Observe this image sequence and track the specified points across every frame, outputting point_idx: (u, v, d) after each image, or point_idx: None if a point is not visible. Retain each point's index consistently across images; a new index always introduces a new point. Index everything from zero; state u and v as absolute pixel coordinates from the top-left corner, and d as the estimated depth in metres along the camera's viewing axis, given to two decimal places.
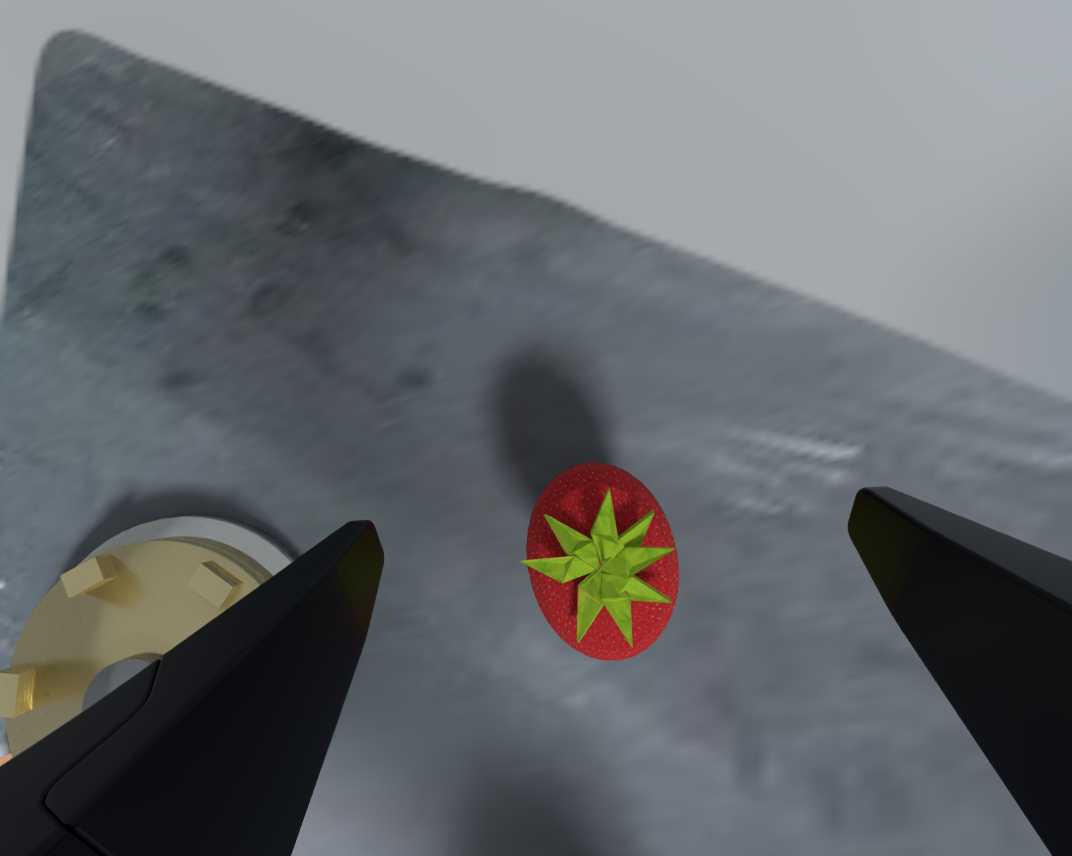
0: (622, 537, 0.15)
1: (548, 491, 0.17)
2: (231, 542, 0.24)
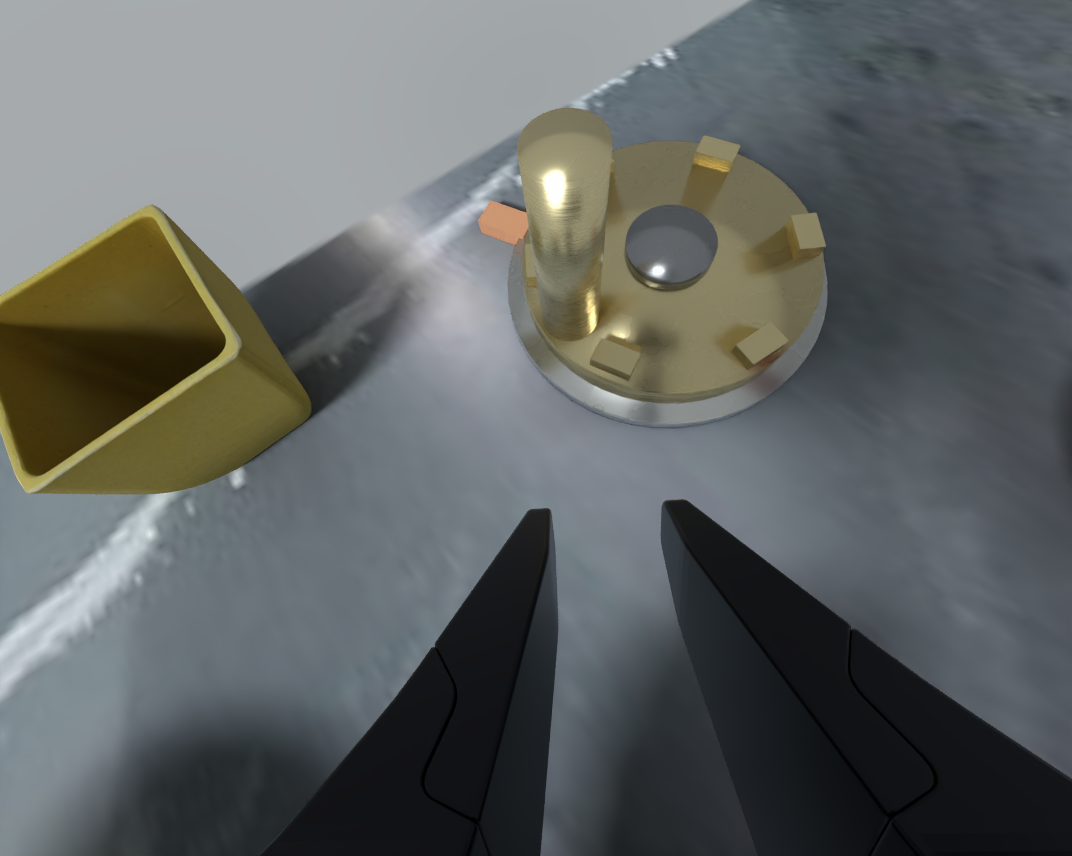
0: None
1: None
2: None
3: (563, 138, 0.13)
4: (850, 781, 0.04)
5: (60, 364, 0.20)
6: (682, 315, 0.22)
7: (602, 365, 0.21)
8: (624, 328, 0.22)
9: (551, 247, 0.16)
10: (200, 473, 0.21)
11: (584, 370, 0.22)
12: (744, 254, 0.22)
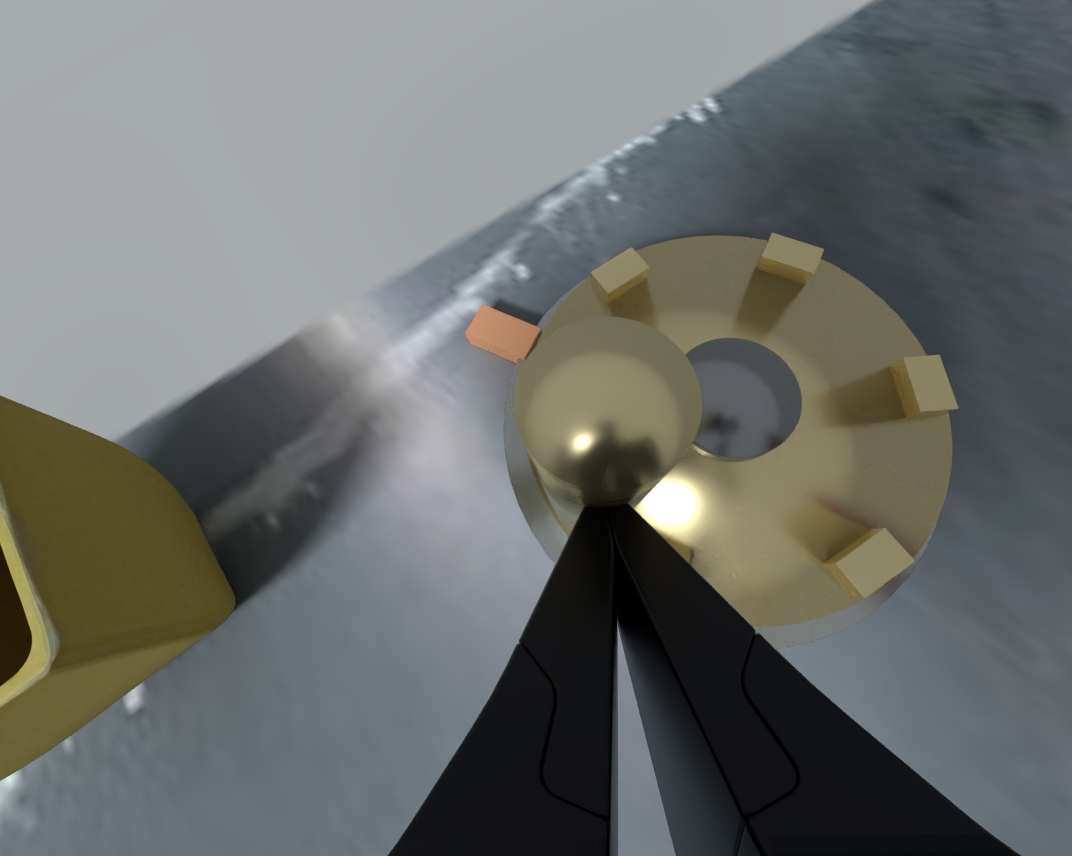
0: None
1: None
2: None
3: (602, 385, 0.07)
4: (721, 782, 0.04)
5: None
6: (750, 501, 0.15)
7: None
8: (668, 517, 0.15)
9: (572, 508, 0.09)
10: (53, 743, 0.14)
11: None
12: (834, 408, 0.16)
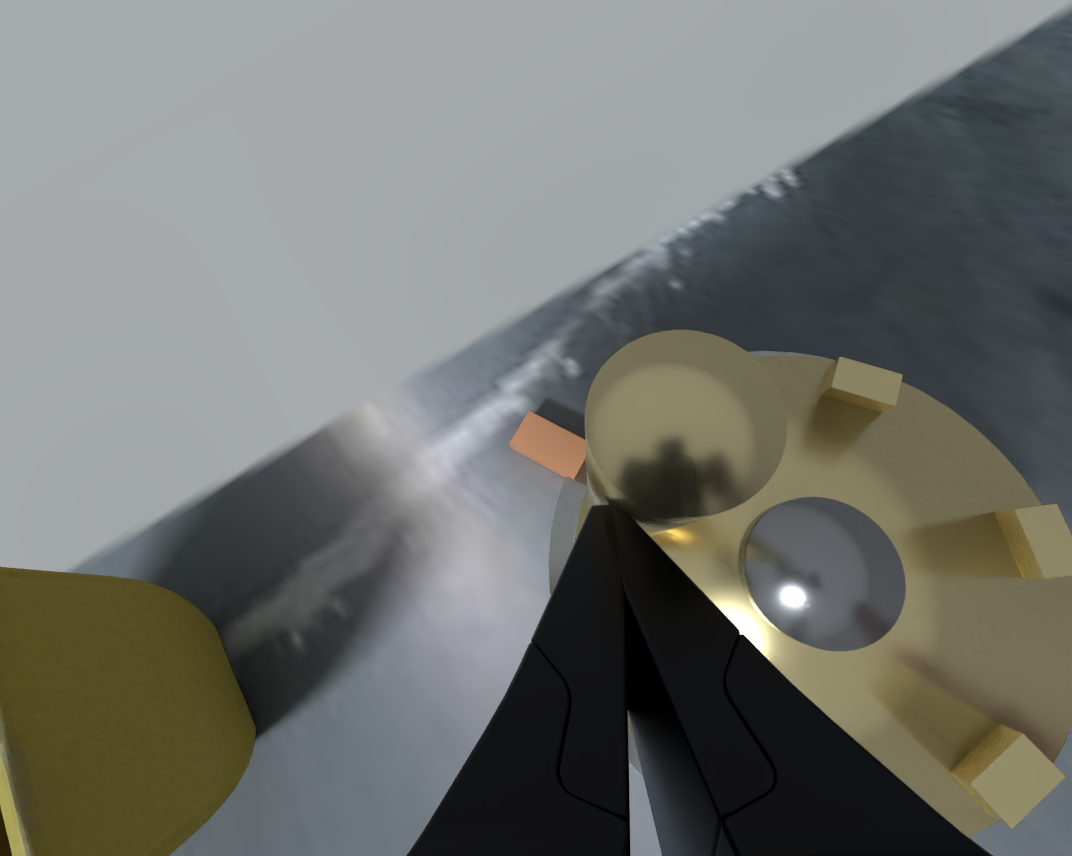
0: None
1: None
2: None
3: (693, 407, 0.06)
4: (701, 784, 0.04)
5: None
6: None
7: None
8: None
9: (588, 473, 0.09)
10: None
11: None
12: (896, 684, 0.13)
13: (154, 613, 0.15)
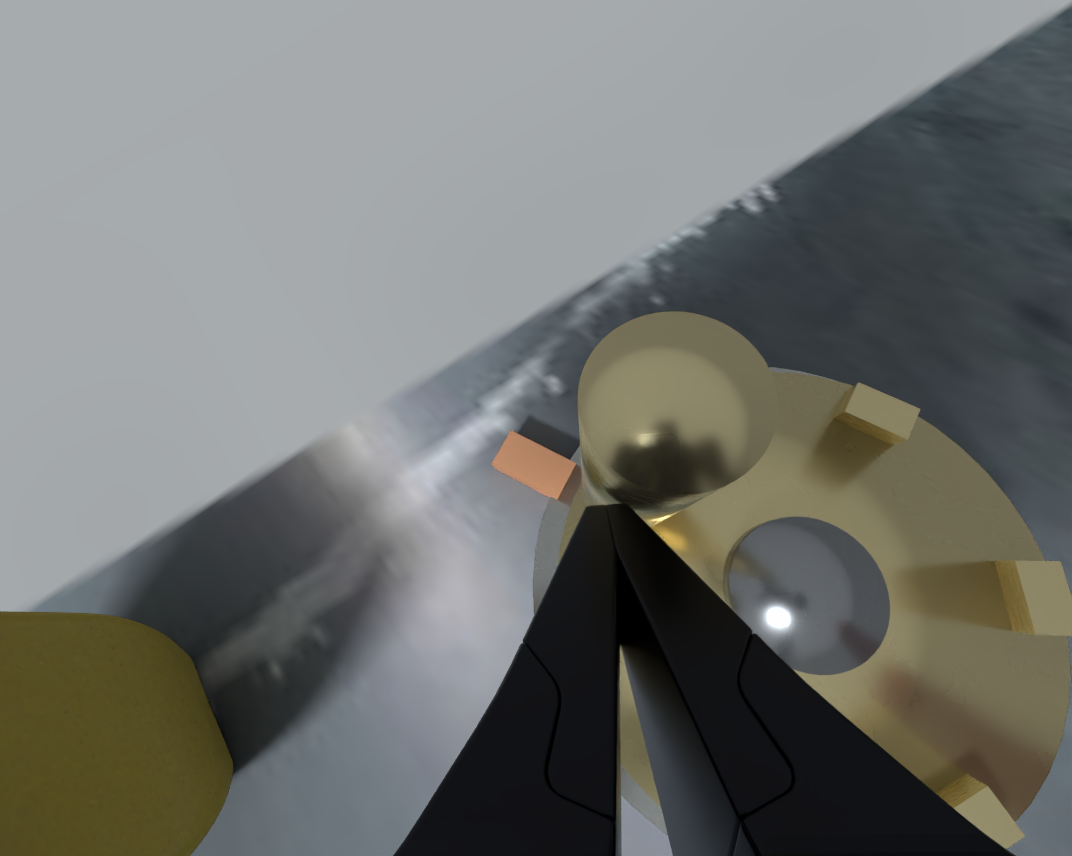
0: None
1: None
2: None
3: (686, 388, 0.06)
4: (717, 782, 0.04)
5: None
6: None
7: None
8: None
9: (580, 451, 0.09)
10: None
11: None
12: (865, 717, 0.13)
13: (124, 649, 0.14)
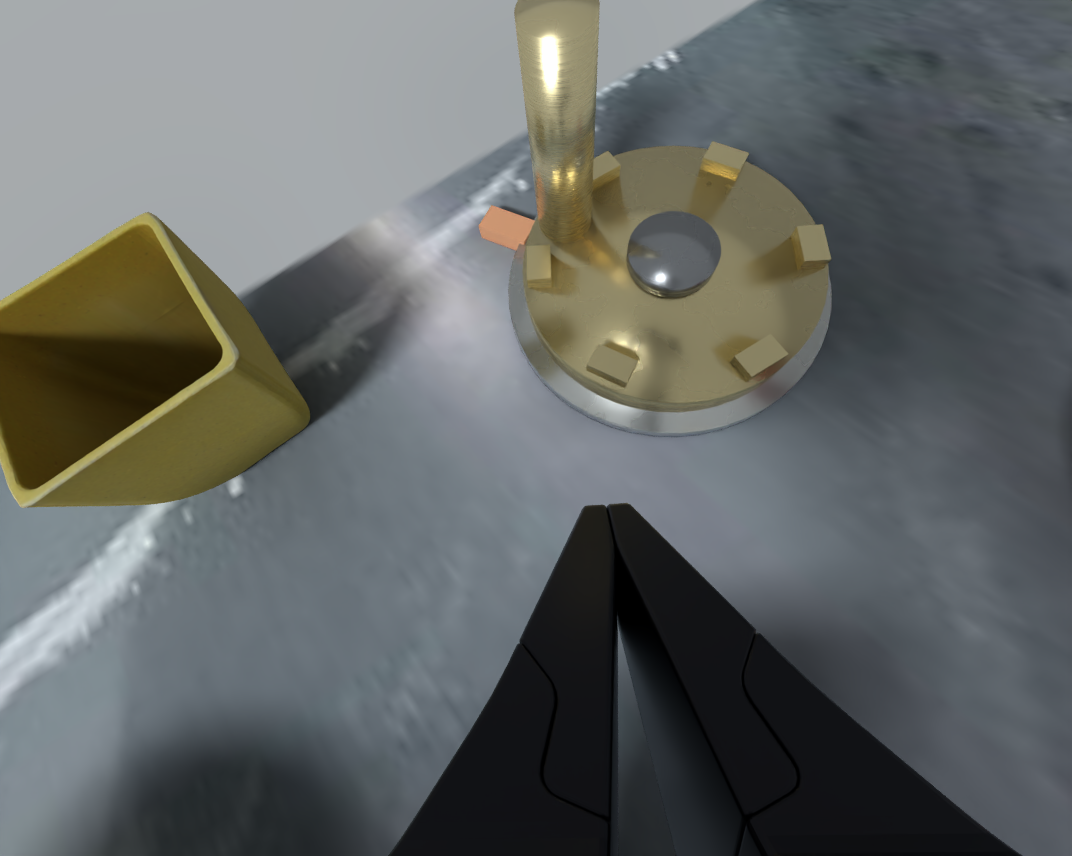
0: None
1: None
2: None
3: (561, 4, 0.15)
4: (721, 782, 0.04)
5: (55, 373, 0.20)
6: (613, 299, 0.22)
7: (526, 258, 0.23)
8: (575, 263, 0.23)
9: None
10: (197, 483, 0.20)
11: None
12: (708, 320, 0.21)
13: (244, 308, 0.22)
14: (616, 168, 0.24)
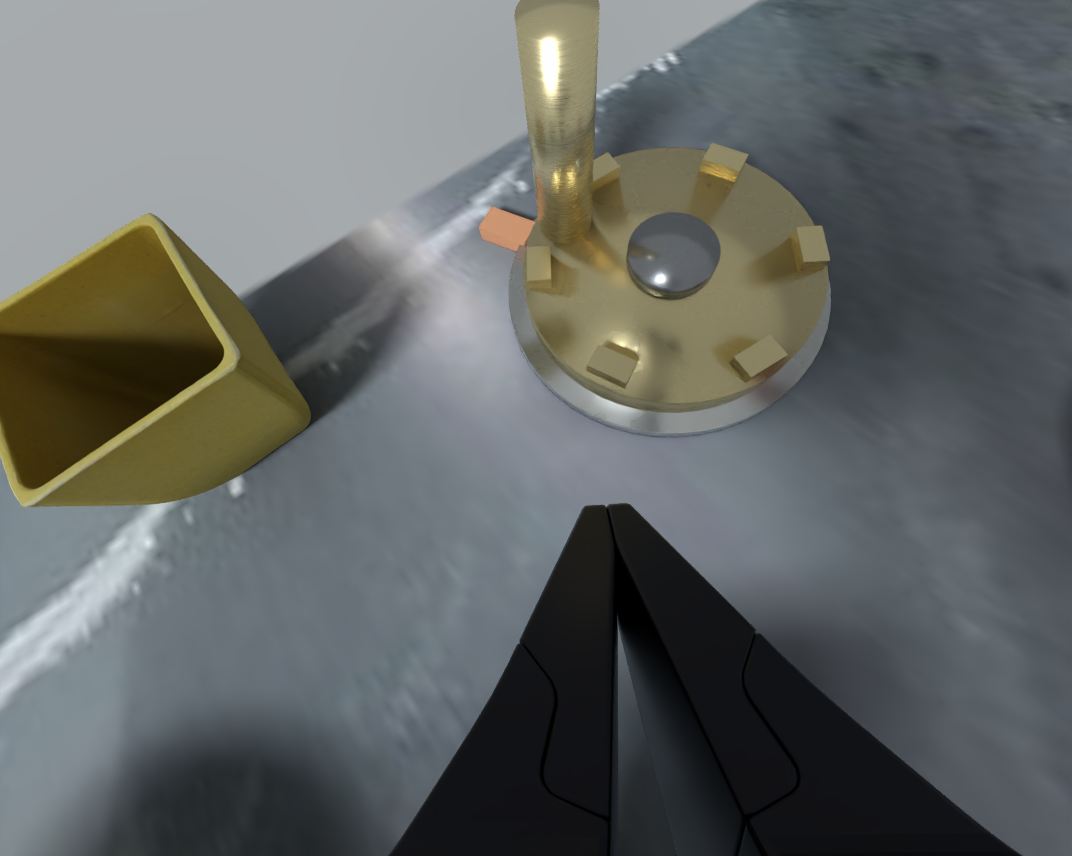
0: None
1: None
2: None
3: (561, 6, 0.15)
4: (721, 782, 0.04)
5: (57, 373, 0.20)
6: (612, 300, 0.22)
7: (527, 259, 0.23)
8: (576, 264, 0.23)
9: None
10: (198, 483, 0.20)
11: None
12: (708, 321, 0.21)
13: (245, 309, 0.22)
14: (616, 169, 0.24)
